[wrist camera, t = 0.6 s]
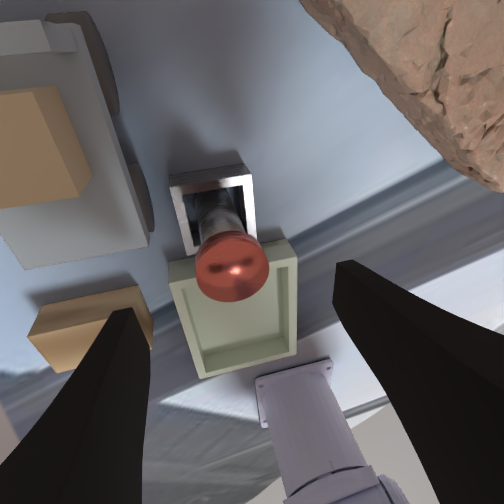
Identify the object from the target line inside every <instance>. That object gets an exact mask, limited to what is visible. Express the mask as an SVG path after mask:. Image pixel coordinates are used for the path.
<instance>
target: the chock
mask: <svg viewBox="0 0 504 504" xmlns="http://www.w3.org/2000/svg"><path fill="white" fill-rule="evenodd" d="M129 307H132V308H133V310H134V312H135V314H136V317H137V319H138V321H139V323H140V326H141V328H142V330H143V332H144V334H145V337H146V339H147V341H148V343H149V346H150V350H152V342H153V324H154V321H153V319H152V316H151V314H150V312H149V309H148V307H147V305H146V302H145V300H144V297H143V295H142V293H141V290H140V288H139V286H138V285H136V286H131V287H126V288H122V289H117V290H112V291H108V292H103V293H98V294H94V295H89V296H84V297H80V298H75V299H71V300H66V301H61V302H57V303H52V304H47V305H43V306H42V308H41V310H40V312H39V314H38V316H37V318H36V320H35V322H34V324H33V326H32V328H31V330H30V332H29V334H28V336H27V338H28V339H29V340H30V342H31V343H32V344H33V345H34V346H35V348H36V349H37V350H38V351H39V352H40V354H41V355H42V356H43V357H44V358H45V359H46V361H47V362H48V363H49V364H50V365H51V367H52V368H53V369H54V370H55V371H56V373H60V372H64V371H68V370H72V369H76V368H77V366H78V365H79V363H80V362H81V360H82V359H83V357H84V356H85V354H86V352H87V351H88V349H89V348H90V346H91V345H92V343H93V342H94V340H95V338H96V337H97V335H98V334H99V332H100V330H101V329H102V327H103V325H104V324H105V322H106V321H107V319H108V317H109V316H110V314H111V313H112V312H113V311H115V310H120V309H124V308H129Z"/></svg>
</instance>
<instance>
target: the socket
mask: <svg viewBox="0 0 504 504" xmlns="http://www.w3.org/2000/svg"><path fill="white" fill-rule="evenodd" d="M233 186H238V190H239V198H240V207H241V216H242V222H241V223H242V225H243V228H244V230H245V232H246V233H248V234H250V235H252V236H253V237H255V238H256V239H257V234H256V222H255V211H254V199H253V187H252V176H251V173H250V171H249V170H248V168H247V167H246V165H245V164H238V165H232V166H226V167H219V168H213V169H206V170H200V171H194V172H187V173H181V174H175V175H169V188H170V192H171V196H172V200H173V204H174V207H175V211H176V215H177V219H178V223H179V227H180V231H181V234H182V238H183V242H184V246H185V250H186V254H187V256H188V255H193V254H196V253H197V251H198V249H199V247H200V246H201V240H200V234H199V230H197V231H192V229H191V225H190V221H189V216H188V212H187V208H186V203H185V199H184V195H185V194H191V193H197V192H203V191H209V190H215V189H221V188H227V187H233Z"/></svg>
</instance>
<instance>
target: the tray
mask: <svg viewBox="0 0 504 504" xmlns="http://www.w3.org/2000/svg"><path fill="white" fill-rule="evenodd" d="M260 245H261V247H262V249H263V251H264V253H265V255H266V257H267V259H268V262H269V275H268V278H267V280H266V282H265V284H264V285H263V287H262V288H261V289H260V290H259V291H258V292H256V293H255V294H254V295H252V296H251V297H248V298H246V299H244V300H241V301H237V302H219V301H215V300H213V299H211V298H209V297H207V296H206V295H205V294H204V293H202V291H201V290H200V288H199V287H198V284H197V279H196V271H195V257H191V258H186V259H181V260H176V261H171V262H169V275H168V284H169V287H170V290H171V293H172V296H173V299H174V302H175V305H176V308H177V311H178V314H179V317H180V320H181V324H182V327H183V330H184V333H185V336H186V339H187V342H188V345H189V348H190V351H191V354H192V357H193V360H194V364H195V367H196V370H197V373H198V376H199V379H203V378H207V377H211V376H215V375H219V374H223V373H226V372H230V371H234V370H238V369H242V368H246V367H250V366H254V365H258V364H262V363H266V362H269V361H273V360H277V359H281V358H285V357H289V356H293V355H297V255H296V254H295V252H294V250H293V249H292V247H291V246H290V244H289V242H288V241H287V239H282V240H277V241H272V242H267V243H262V244H260Z"/></svg>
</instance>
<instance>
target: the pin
mask: <svg viewBox="0 0 504 504" xmlns="http://www.w3.org/2000/svg"><path fill="white" fill-rule="evenodd" d="M195 209H196V216H197V222H198V228H199V234H200V240H201V246H200V247H199V249H198V251H197V253H196V256H195V271H196V279H197V284H198V287H199V288H200V290H201V291H202V293H204V294H205V295H206V296H207V297H209V298H211V299H213V300H215V301H219V302H237V301H241V300H244V299H246V298H248V297H251V296H252V295H254V294H255V293H256V292H258V291H259V290H260V289H261V288H262V287H263V285H264V284H265V282H266V280H267V278H268V275H269V262H268V259H267V257H266V255H265V253H264V251H263V249H262V247H261V245H260V243H259V242H258V240H257V239H256V238H255V237H253V236H252V235H250V234H248V233H246V232H245V230H244V228H243V225H242V223H241V221H240V218H239V216H238V213H237V211H236V209H235V206H234V204H233V201H232V199H231V197H230V195H229V193H228V192H227V191H226V190H225V189H223V188H221V189H215V190H209V191H203V192H199V193H198V194H197V196H196V199H195Z"/></svg>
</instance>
